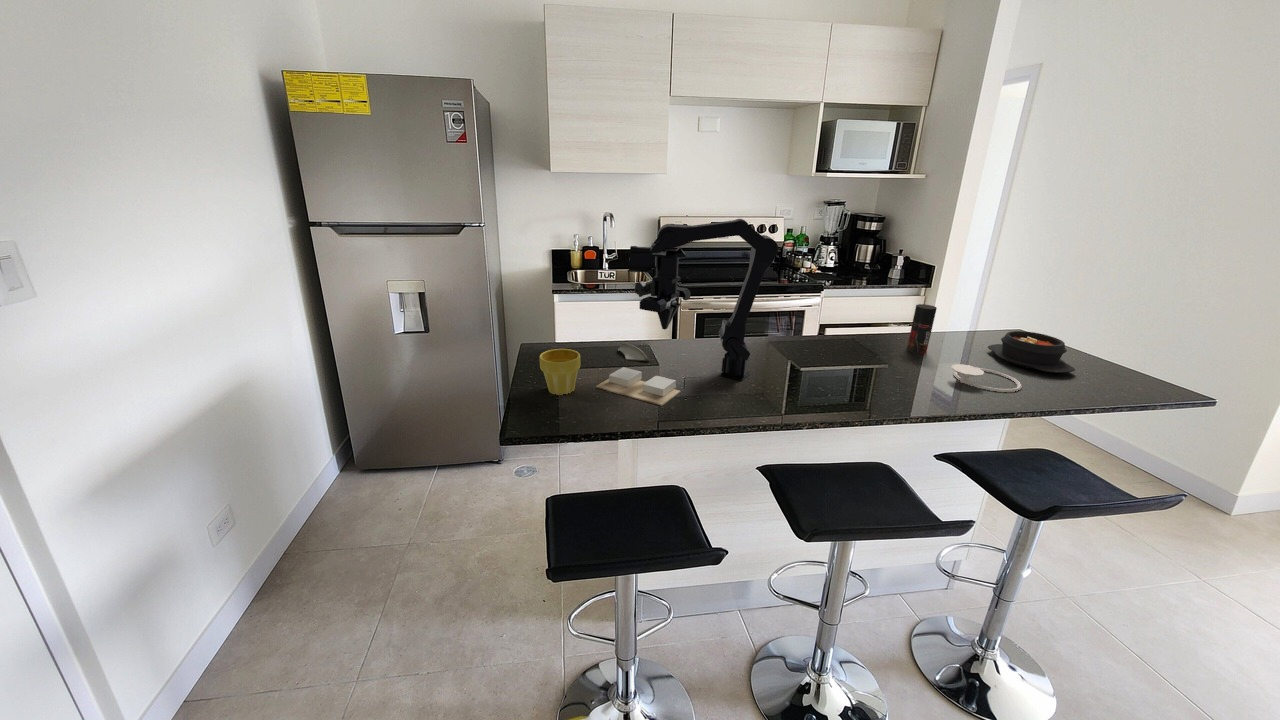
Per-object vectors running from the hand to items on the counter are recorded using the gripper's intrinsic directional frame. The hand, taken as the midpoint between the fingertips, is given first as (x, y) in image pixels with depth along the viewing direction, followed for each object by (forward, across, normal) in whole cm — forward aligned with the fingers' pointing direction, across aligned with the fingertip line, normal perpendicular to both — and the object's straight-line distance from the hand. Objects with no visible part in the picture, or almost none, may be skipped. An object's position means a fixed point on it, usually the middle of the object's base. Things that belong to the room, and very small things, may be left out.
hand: (664, 329), depth 148 cm
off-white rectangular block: (+11, +8, -5) cm, 15 cm away
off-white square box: (+11, +8, +6) cm, 15 cm away
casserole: (+13, -73, +91) cm, 117 cm away
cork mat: (+13, +14, 0) cm, 19 cm away
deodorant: (+13, -65, +60) cm, 89 cm away
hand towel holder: (+14, -47, +78) cm, 92 cm away
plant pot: (+13, +26, -16) cm, 33 cm away
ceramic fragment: (+14, -7, -14) cm, 21 cm away
